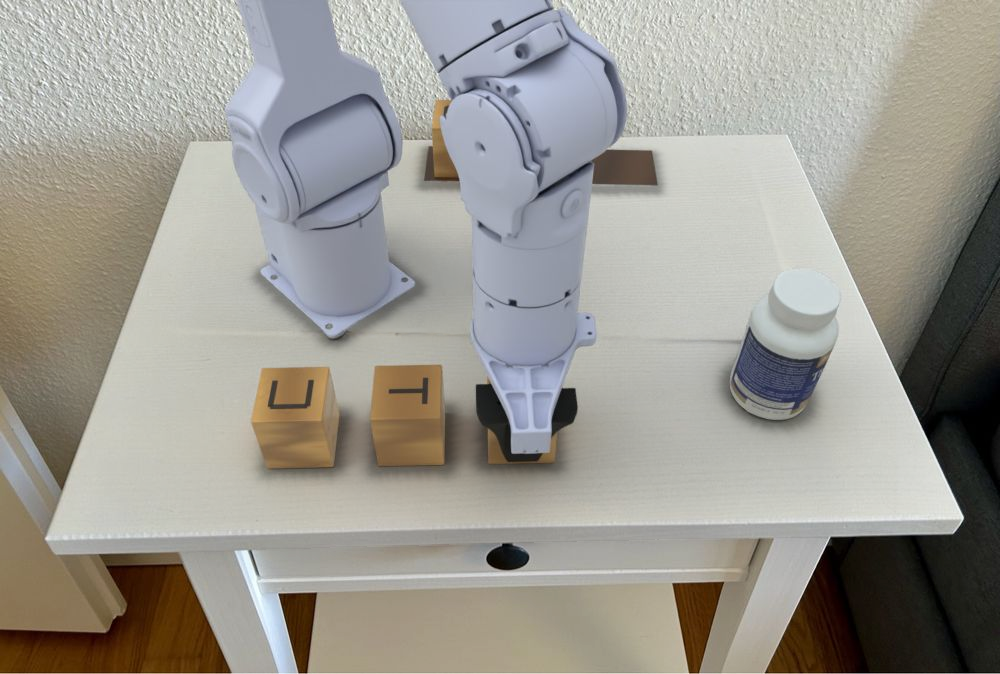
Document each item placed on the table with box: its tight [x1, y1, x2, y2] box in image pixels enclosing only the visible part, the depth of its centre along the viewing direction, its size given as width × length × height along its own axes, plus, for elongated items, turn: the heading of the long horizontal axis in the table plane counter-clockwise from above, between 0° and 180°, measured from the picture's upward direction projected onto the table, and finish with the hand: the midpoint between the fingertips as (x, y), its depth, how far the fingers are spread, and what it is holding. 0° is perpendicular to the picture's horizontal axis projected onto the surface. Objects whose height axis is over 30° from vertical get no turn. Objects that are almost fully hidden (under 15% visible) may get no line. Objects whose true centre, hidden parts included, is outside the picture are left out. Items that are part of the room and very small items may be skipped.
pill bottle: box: [729, 267, 842, 421], centre depth 54 cm, size 5×5×10 cm
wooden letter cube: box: [486, 375, 558, 465], centre depth 53 cm, size 4×4×5 cm
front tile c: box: [250, 366, 341, 470], centre depth 53 cm, size 4×4×5 cm
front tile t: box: [369, 364, 446, 467], centre depth 53 cm, size 4×4×5 cm
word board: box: [423, 145, 658, 186], centre depth 74 cm, size 20×5×1 cm, turn 89°
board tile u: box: [431, 99, 459, 178], centre depth 72 cm, size 4×4×5 cm
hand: (520, 423), depth 54 cm, fingers open, 4 cm apart
